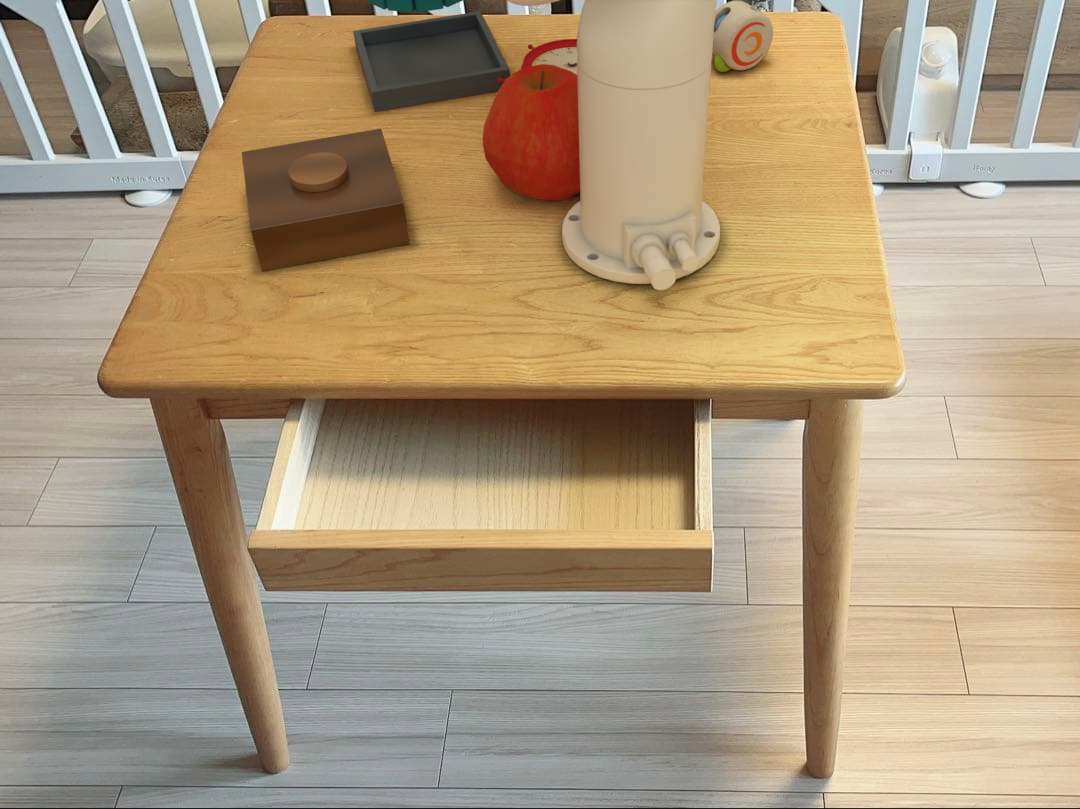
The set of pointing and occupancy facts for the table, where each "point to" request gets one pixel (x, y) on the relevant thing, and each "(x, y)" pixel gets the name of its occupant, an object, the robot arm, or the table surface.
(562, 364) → the table surface
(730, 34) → the roller toy
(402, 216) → the platform
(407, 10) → the ring
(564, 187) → the apple
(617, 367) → the table surface
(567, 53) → the alarm clock
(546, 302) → the table surface
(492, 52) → the tray
